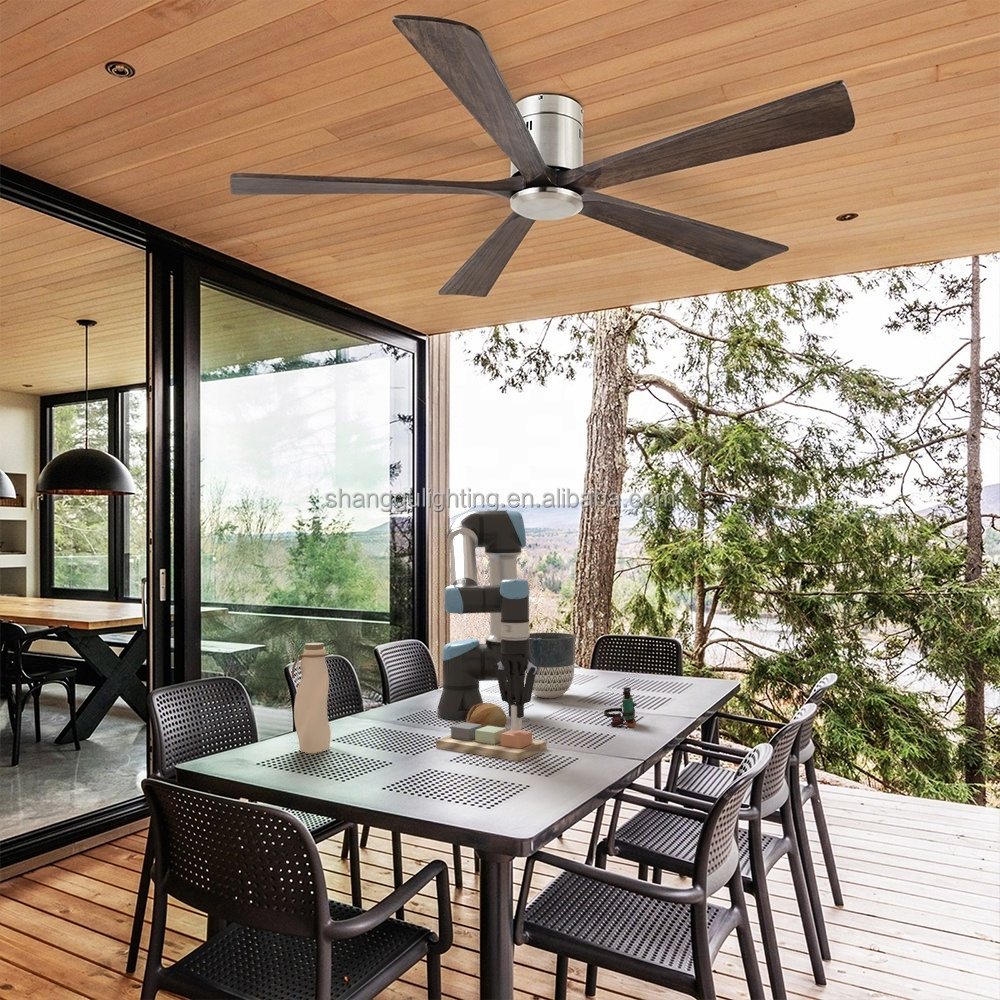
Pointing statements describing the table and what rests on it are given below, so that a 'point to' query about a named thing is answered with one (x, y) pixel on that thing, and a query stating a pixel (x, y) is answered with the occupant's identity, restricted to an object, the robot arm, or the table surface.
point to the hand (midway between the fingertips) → (516, 729)
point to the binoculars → (627, 711)
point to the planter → (552, 663)
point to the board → (491, 748)
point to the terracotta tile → (516, 738)
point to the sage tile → (489, 734)
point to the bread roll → (487, 715)
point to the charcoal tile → (464, 731)
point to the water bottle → (312, 700)
